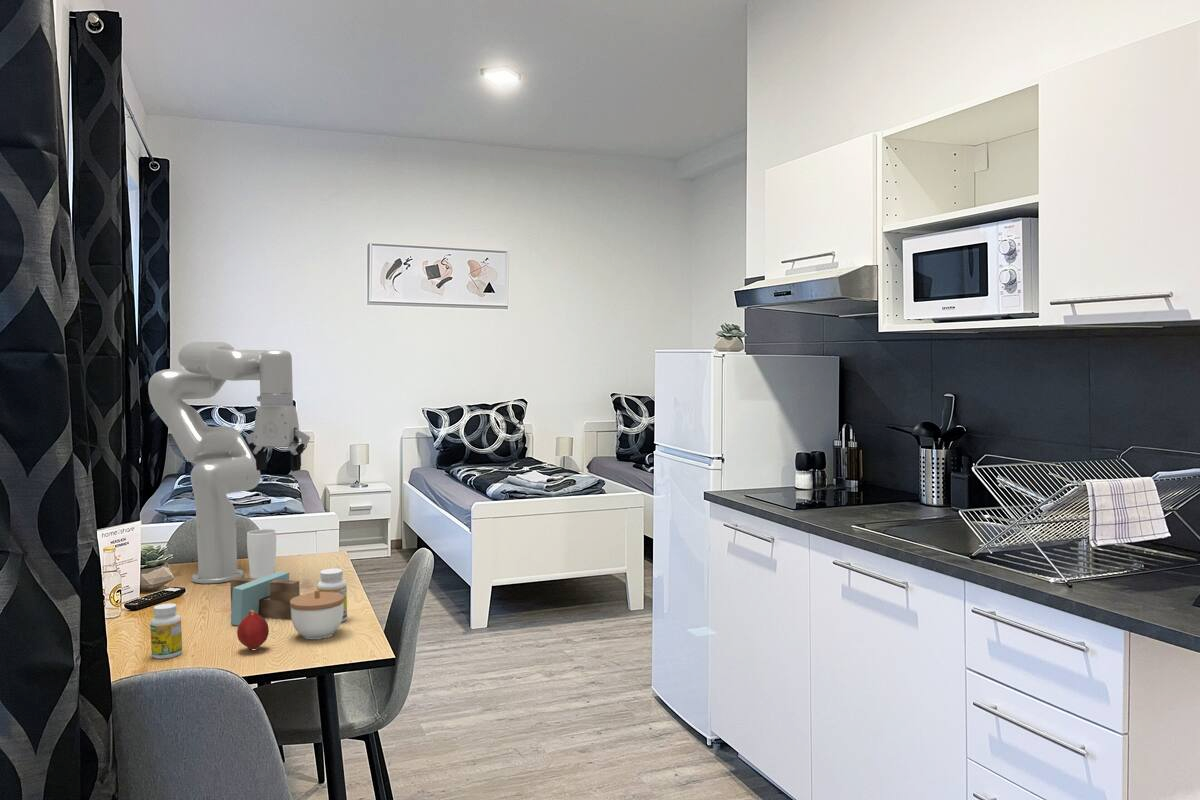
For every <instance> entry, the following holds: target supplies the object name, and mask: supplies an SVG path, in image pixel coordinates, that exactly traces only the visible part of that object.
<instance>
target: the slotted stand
mask: <svg viewBox="0 0 1200 800" xmlns="http://www.w3.org/2000/svg"><path fill="white" fill-rule="evenodd" d="M256 579H259V578H251V577H244V576H243V577H237V578H234V579H231V580H230V581H229V582H230V584H229V585H230V610H231V609H232V592H233V588H234V587H237V586H239V585H242V584H245V583H248V582H251V581H253V580H256ZM300 592H301V591H300V580H291V579H289V580H274V581H272V582H270V597H265V598H262V599H260V600H259V611H258V615H260V616H262V617H263V618H265V617H271V618H270V619H278V618H282V619H281V620H292V619H291V607H290V600H291V599H292V598H294V597H297V596H299V595H301V594H300Z"/></svg>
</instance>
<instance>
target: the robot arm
mask: <svg viewBox="0 0 1200 800" xmlns="http://www.w3.org/2000/svg"><path fill="white" fill-rule="evenodd" d="M177 358H178V362H179V364H180V366H181V368H168V369H162V370H158V371H157V372H155V373H154V374H152V375H151V377H150V379H149V381H148V396H149V401H150V404H151V405H152V407H153V410H154V411H155V412H156V414H157V416H159V418H160V419H161V420H162V421H163V423H164V424H165V425H166V427H167V428H168V430H169V431H170V433H171V436H172V437H173V439H174V441H175V443H176V445H177V447H178V448H179V450H180V451H181V454H182V455H183V457H184V458H185V460H186V461H188V462H189V463H191V464H195V465H193V468H192V469H191V472H190V483H191V487H192V491H193V496H194V503H195V516H196V517H195V520H196V521H195V522H196V545H197V573H194V574H192V575H191V581H192V582H194V583H196V584H218V583H219V584H220V583H225V582H226V583H227V582H230V580H231V579H234V578H237V577H243V578H244V576H245V573H244V570H243V569H240V568H238V554H237V553H238V552H237V549H238V547H237V524H236V523H237V522H236V521H237V519H236V517H237V516H236V509H235V507H234V505H233V503H232V502H231V500H230V499H229V497H228V496H227V495H229V494H233V493H234V494H235V493H240V492H241V493H242V492H246V491H250V490H253V489H255V488H256V487H257V486H258V485H259V484H260V481H261V480H260V479H261V471H262V470H263V471H264V470H266V469H267V468H268V466H267V465H268V463H267V452H265V451H266V450H267V448H286V447H287V449H289V451H290V452H291V453H292V454H290V471H291V472H297V471H300V470H301V466H302V454H304V451H305V450H306V449H307V448H308V444H309V442H310V440H311V437H310V435H307V434H306V433H304V432H302V431H301V430H300V425H299V418H298V413H297V408H296V405H294V401H293V400H294V392H293V390H294V389H293V386H294V385H293V359H292V354H291V352H290V351H288V350H282V349H281V350H280V349H279V350H277V349H275V350H274V349H273V350H272V349H271V350H267V349H235V348H234V347H233V346H232V345H231V344H229V343H227V342H223V341H222V342H220V341H218V342H217V341H195V342H189V343H187V344H185V345H183V346H182V347H181V348H180V350H179V352H178V356H177ZM227 381H236V382H237V381H238V382H239V381H259V395H258V396H257V397H256V400H257V402H259V403H260V404H259V405H260V406H257V409H256V413H255V417H254V419H255V420H254V430H253V431H252V432H250V433H249V434H247V435H246V437H245V439H246V440H245V439H244V437H243V435H242V434H241V433H240V432H239V430H237V429H236V428H235V427H231V426H228V425H223V426H222V425H221V426H210V425H207V424H206V423H205V420H203V418H202V416H201V414H200V413H199V411H197V410H196V409H195V408H194V407H192V406H191V405H189V404H188V403H187V402H185V401H183V400H200V399H201V400H203V399H210V398H212V397H215V396H216V395H217V393H219V391H220V390H221V389H222V387H223V386H224V384H226V382H227ZM246 441H247V442H246ZM247 443H248V444H247ZM251 450H252V451H251ZM254 455H255V456H254Z"/></svg>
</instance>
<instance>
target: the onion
mask: <svg viewBox="0 0 1200 800" xmlns="http://www.w3.org/2000/svg"><path fill="white" fill-rule="evenodd" d="M248 613H249V615H248V616H246V617H245V618H244V619H243V620H242V621H241V623H240V624H239V626H237V629H236V630H237V631H236V632H237V633H236V635H237V639H238V641H239V643H241V644H242V645H243V646H245V647H246V648H248V649H249V650H250V649H251V650H250V651H253V650H252V649H256V650H257V649H259V648H260V647H261V646H262V645H263V644H264V643H265V642H266V641H267V639H268V637H269V632H270V629H269V624H268V622H267V620H266V619H265V617H262V616H260V615H258V614H257V613H256V612H255V611H254V610H251V611H250V612H248Z"/></svg>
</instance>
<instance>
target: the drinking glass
mask: <svg viewBox="0 0 1200 800" xmlns="http://www.w3.org/2000/svg"><path fill="white" fill-rule="evenodd" d="M246 548H247V549H246V550H247V558H248V559H247V560H248V568H249V574H250V577H249V578H262V577H265V576H267V575H270V574H273V573H276V572H275V571H276V569H275V568H276V560H277V559H276V558H277V557H276V555H277V535H276V530H275V529H272V528H267V529H266V528H262V529H252V530H250V531H247V533H246Z"/></svg>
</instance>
